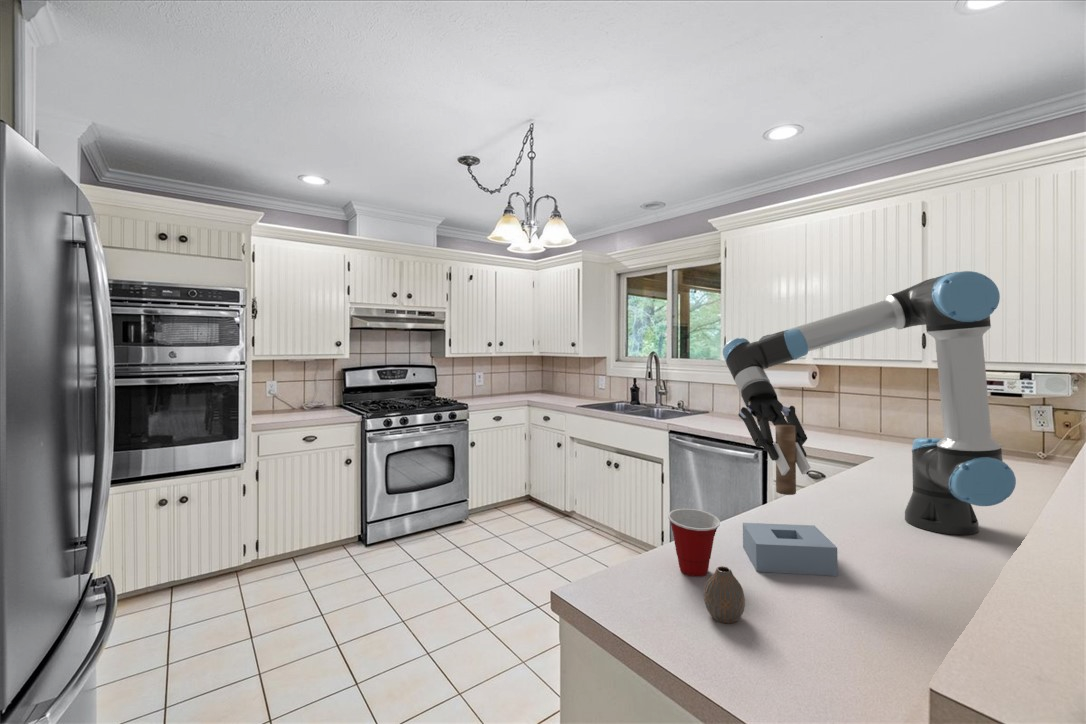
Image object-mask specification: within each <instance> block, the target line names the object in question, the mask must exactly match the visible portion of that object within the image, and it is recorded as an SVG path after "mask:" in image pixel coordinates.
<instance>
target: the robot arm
mask: <svg viewBox="0 0 1086 724" xmlns="http://www.w3.org/2000/svg"><path fill="white" fill-rule="evenodd" d="M1000 297H1001V296H1000V290H999V288H998V286H997V284H996V283H995V282H994V281H993V280H992V279H991V277H988V276H986V275H985V274H983V273H980V272H977V271H969V270H964V271H955V272H949V273H946V274H944V275H943V274H942V275H940V276H936V277H932V278H929V279H926V280H923V281H922V282H919V283H917V284H914V285H912V286H909V287H908V288H905V289H902V290H900V291H897V292H895V293H891V294H888V295H886V296H885V298H884V299H883V300H882V301H878V302H875V303H871V304H867V305H865V306H862V307H857V308H855V309H852V310H851V309H850V310H849V311H845V312H841V313H838V314H835V315H830V316H828V317H825V318H822V319H817V320H815V321H811V322H807V323H804V324H802V325H799V326H795V327H792V328H787V329H786V330H781V331H778V332H774V333H772V334H766V335H763V336H761V338H759V339H758V340H756V341H752V342H750V341H749V340H748V339H746V338H745V337H741V338H738V337H735V338H733V339H730V340H729V341H728V342H726V343H725V345H723V348H722V356H723V358H724V361H725V363H726V367H727V368H728V370H729V373H730V374H731V376H732V378H733V381H734V382H735V385H736V387H737V389H738V391H739V393H740V395H741V398H742V401H743V403H744V405H745V406H746V407H744V406H742V407H741V409H740V411H739V412H738V414H737V415H738V417H739V418H740V419H741V420H742V421H743V423H744V424H745V427H746V428H747V430H748V433H749V435H750V437H751V439H752V441H753V443H754V445H755V447H757V448H762V451H764V452H767V453H768V454H767V455H768V456H769V458H770V460H771V461H772V462H773V461H774V462H775V465H776V464H777V466H778V468H779V471H780V473H781V475H786V473H787V472H788V471H789V469H790V468H789V466H788V463H787V461H786V459H785V457H784V455H783V453H782V451H781V449H780V447H779V445H778V443H776V442H774V438H773V435H772V429H771V426H770V422H771V423H772V425H773V426H774V427H775V425H781V424H784V425H794V426H795V439H796V466H797V468H798V469H799V471H800V474H801V475H806V474H807V473H808V472H809V470H810V469H811V466H810V463H809V462H808V460H807V458H806V457H807V452H806V450H805V448H804V447H803V446H804V444H805V443H806V441H808V436H807V434H806V432H805V430H804V428H803V426H802V424H801V422H800V420H799V418H798V416H797V414H796V407H795V406H794V405H790V406H784V405H783V403H781V402H780V401H779V399H778V395H777V392H776V391H775V388H774V387H773V384H772V383H771V381H770V379H769V377H768V374H767V373H766V371H765V369H769V368H771V367H775V366H777V365H781V364H785V363H787V362H791V361H793V360H794V361H797V360H798V359H800V358H802V357H805V356H807V355H808V353H809V352H812V351H814V350H819V349H821V348H825V347H829V346H832V345H835V344H840V343H842V342H846V341H851V340H855V339H858V338H860V337H864V336H868V335H871V334H875V333H879V332H882V331H885V330H890V329H897V330H903V329H906V328H910V327H917V326H925V329H926V333H927V334H928V335H929V336H931V337H932V338H933V339H934V341H935V350H936V351H935V352H936V362H937V373H938V374H937V375H938V384H939V386H938V388H939V395H940V409H941V419H942V420H941V421H942V429H943V437H941V438H940V437H939V438H938V437H917V438H915V439H914V440H913V442H912V449H911V458H912V459H911V460H912V494H911V495H910V498H909V500H908V502H907V505H906V508H905V511H904V520H905V522H907V523H908V524H909V525H911V526H914V527H917V528H919V529H922V530H926V531H930V532H933V533H934V532H935V533H939V534H945V535H957V536H967V535H968V536H969V535H975V534H977V533H978V532H979V526H980V525H979V520H978V518H977V516H976V513H975V511H974V508H973V506H978V507H991V506H995V505H998V504H999V505H1000V504H1001V503H1003V502H1004V501H1005V500H1007V498H1010V497H1011V495H1012V494H1013V493H1014V491H1015V489H1016V483H1017V481H1016V476H1015V472H1014V471H1013V469H1012V468H1011V467H1010V466H1009V465H1008V464H1007V463H1006V462H1004V460H1003V452H1002V451H1003V449H1002V444H1000V443H998V442H997V441H996V440H995V439H993V437H992V430H991V429H992V428H991V419H990V417H991V416H990V405H989V396H988V395H989V393H988V383H987V370H986V361H985V348H984V339H983V338H984V334H985V333H987V332H988V331H989V330H990V329H991V328H992V325H991V315H992V314H993V313H994V312H995V310H996V309H997V308H998V306H999V304H1000V300H1001V298H1000ZM754 417H755V418H756V419H755V418H754ZM756 421H757V422H756Z"/></svg>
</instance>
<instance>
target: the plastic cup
mask: <svg viewBox="0 0 1086 724" xmlns="http://www.w3.org/2000/svg"><path fill="white" fill-rule="evenodd" d="M667 517H668V519H669V522H670V526H671V530H672V534H673V539H674V540H673V541H674V545H675V546H674V547H675V551H676V552H675V553H676V556H677V562H678V566H679V569H680V572H681V573H682V574H684V575H687V576H688V577H699V578H700V577H704V576H707V574H708V571H709V566H710V560H711V555H712V551H713V545H714V539H715V536H716V533H717V530H718V528H719V527H720V525H721V520H720V519H719V518H718V516H717V515H716V516H715V515H713V514H712V513H710V512H707V511H704V510H700V509H693V508H678V509H673V510H671V511H669V513H668V516H667Z"/></svg>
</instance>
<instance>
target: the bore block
mask: <svg viewBox="0 0 1086 724" xmlns="http://www.w3.org/2000/svg"><path fill="white" fill-rule="evenodd" d="M742 547H743V550H744V551H745V554H746V555H747V558H748V559H749V561H750V562H751V564H752V566H753V568H754V570H755V572H757V573H759V572H760V573H775V574H776V573H778V574H794V575H798V574H799V575H812V576H814V575H815V576H829V577H831V576H832V577H838V572H839V571H838V568H839V567H838V547H837V546H836V544H834V543H833V542H832V541H831V540H830V539H829V538H828V537H827V536H826V535H825V534H824V533H823V532H822V531H821V530H820V529H819V528H818V527H817V526H816V525H813V524H811V525H810V524H807V525H806V524H790V523H789V524H784V523H783V524H782V523H763V522H762V523H760V522H742Z"/></svg>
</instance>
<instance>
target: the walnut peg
mask: <svg viewBox="0 0 1086 724" xmlns="http://www.w3.org/2000/svg"><path fill="white" fill-rule="evenodd" d="M774 427H775V429H774V430H775V443H778V445H779V447H780V449H781V451H782V453H783V455H784V457H785V459H786V461H787V463H788V466H789V468H790V469H789V471H788V472H787V473H786V475H781V473H780V471H779V468H778V466H777V464H776V463H775V492H776V493H777V494H780V495H783V496H784V495H786V496H793V495H796V494H797V463H796V439H795V426H794V425H784V424H781V425H775V426H774Z"/></svg>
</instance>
